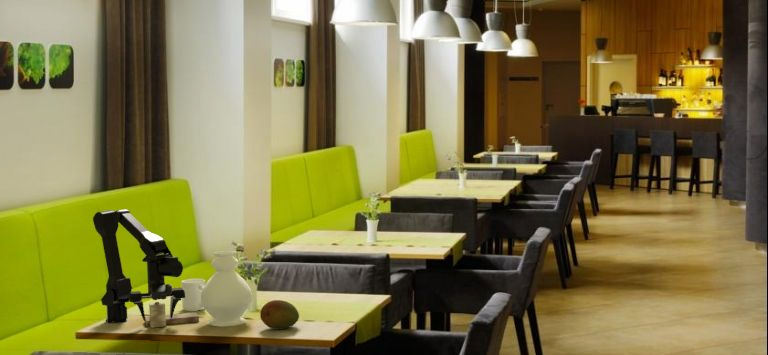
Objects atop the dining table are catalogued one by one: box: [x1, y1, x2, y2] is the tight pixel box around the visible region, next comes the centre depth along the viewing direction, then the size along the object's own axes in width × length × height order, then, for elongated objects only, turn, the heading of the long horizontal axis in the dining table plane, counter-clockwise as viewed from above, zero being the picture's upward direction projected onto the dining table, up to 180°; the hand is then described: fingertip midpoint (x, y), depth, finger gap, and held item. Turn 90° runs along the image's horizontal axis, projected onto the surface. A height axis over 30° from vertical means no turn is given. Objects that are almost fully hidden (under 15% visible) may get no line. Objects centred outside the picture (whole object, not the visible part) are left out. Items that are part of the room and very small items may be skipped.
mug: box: [181, 278, 206, 312], centre depth 413 cm, size 9×12×11 cm
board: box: [144, 311, 200, 328], centre depth 393 cm, size 18×7×2 cm, turn 109°
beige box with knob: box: [148, 301, 167, 329], centre depth 389 cm, size 5×10×8 cm, turn 19°
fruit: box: [259, 299, 300, 330], centre depth 379 cm, size 12×12×10 cm
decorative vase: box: [201, 249, 253, 328], centre depth 389 cm, size 18×18×25 cm
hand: (157, 319), depth 386 cm, fingers open, 9 cm apart
